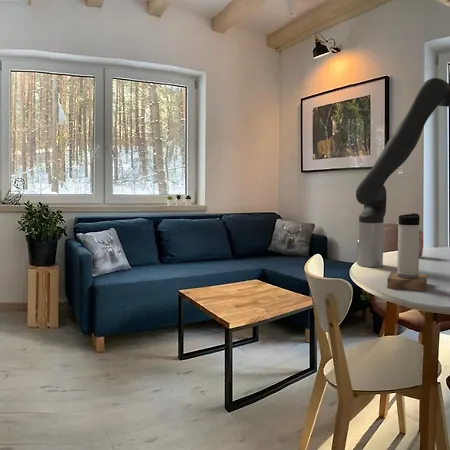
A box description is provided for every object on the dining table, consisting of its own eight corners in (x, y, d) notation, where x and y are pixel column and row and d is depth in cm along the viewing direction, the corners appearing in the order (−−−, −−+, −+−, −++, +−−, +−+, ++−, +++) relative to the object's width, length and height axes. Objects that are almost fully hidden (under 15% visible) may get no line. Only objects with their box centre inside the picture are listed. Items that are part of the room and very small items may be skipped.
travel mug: (423, 276, 145) (424, 213, 143) (410, 279, 141) (412, 215, 140) (405, 273, 150) (407, 212, 148) (393, 276, 147) (394, 213, 145)
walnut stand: (387, 287, 143) (387, 278, 143) (390, 280, 153) (391, 272, 153) (425, 291, 139) (425, 281, 138) (426, 283, 149) (426, 274, 148)
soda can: (413, 258, 195) (414, 230, 193) (401, 256, 201) (402, 229, 200) (426, 257, 197) (427, 229, 196) (413, 255, 204) (414, 228, 203)
